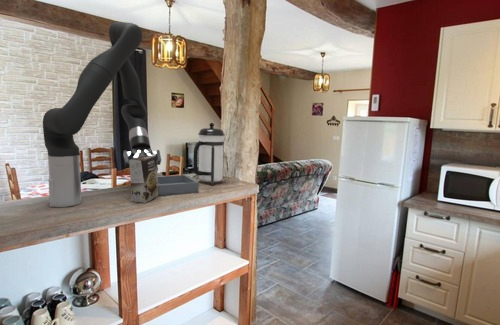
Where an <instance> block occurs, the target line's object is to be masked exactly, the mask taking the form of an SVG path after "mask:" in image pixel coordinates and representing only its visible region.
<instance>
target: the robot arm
mask: <svg viewBox="0 0 500 325" xmlns="http://www.w3.org/2000/svg"><path fill="white" fill-rule="evenodd" d="M108 36H109V40H110V44H111V46H110V48H108V49H107V50H105V51H103V52H101V53H99V54H98V55H96V56H95V57H93V58H92V59H91V60H89V62H88V63H87V64H86V66H85V67H84V68H83V70H82V71H81V73H80V74H79V77H78V79H77V84H76V89H75V91H74V93H73V94H72V96H71V97H70V99H68V101H67V102H66V103H65V105H63V106H62V107H54V108H50V109H48V110H47V111H46V112H45V113H44V115H43V118H42V129H43V130H42V133H43V140H44V146H45V148H46V151H47V159H48V160H47V161H48V193H49V195H48V196H49V198H48V199H49V207H50V208H51V207H52V208H53V207H56V208H64V207H72V206H76V205H77V206H78V205H79V204H81V203H82V182H81V179H82V178H81V162H80V161H81V160H80V159H81V158H80V155H81V154H80V147H79V146H78V145H77V144H76V142H75V140H74V136H75V135H76V134H78V133H79V132H80V130H81V129H82V128H83V127H84V124H85V123H86V120H87V118H88V116H89V115H90V113H91V111H92V110H93V108H94V106H95V105H96V104H97V103H98V101H99V99H100V98H101V96H102V95H103V93H104V92H105V91H106V89H108V87H109V86H110V84H111V82H112V81H113V79H114V78H115V77H116V75H117V74H118V72H119V75H120V80H121V88H122V93H123V98H124V99H125V100H128V101H133V102H136V103H131V104H129V103H127V104H123V106H122V107H121V108H120V109H121V110H120V111H121V112H120V113H121V115H122V118H123V119H124V121H125V123H126V125H127V129H128V139H129V140H128V141H129V144H130V151H127V150H126V149H125V150H123V153H122V154H123V162H124V166H125V167H130V163H129V160H130V159H129V157H130V156H131V157H132V159H133V158H136V157H140V156H157V172H158V171H159V168H158V166H160V165H161V162H162V157H161V156H162V155H161V151H160V149H157V150H155V151H154V150H152V148H151V142H150V138H149V133H148V132H147V127H146V122H145V121H144V120H145V119H147V116H148V109H147V107H146V105H145V103H144V101H143V98H142V92H141V83H140V78H139V76H138V73H137V71H136V69H135V68H134V66H133V64H132V62H131V60H130V57H131V55H133V54H134V52H135V51H137V49H138V48H139V46H140V45H141V43H142V42H143V30H142V29H141V27H140V26H139V25H138V24H136V23H132V22H127V21H125V22H124V21H113V22H112V23H111V24H110V25H109V28H108Z"/></svg>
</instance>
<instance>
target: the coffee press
mask: <svg viewBox="0 0 500 325" xmlns="http://www.w3.org/2000/svg"><path fill="white" fill-rule="evenodd" d="M214 126H215V123H213V122H210V123H209V127H203V128H201V129H200V130H199V132H198V134H197V135H198V142H196V144H195V145H194V148H193V158H192V160H193V172H194V174H195V175H197V178H196V179H195V181H197V182H198V184H199V183H200V182H206V183H210V186H215V183H216V182H217V183H218V182H222V183H226V180H225V178H224V164H225V163H224V162H225V161H224V160H225V159H224V157H225V153H224V152H225V140H224V139H225V132H224V130H223V129H221V128H216V127H215V128H214ZM198 179H199V181H198ZM222 180H224V181H222Z"/></svg>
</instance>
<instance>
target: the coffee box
mask: <svg viewBox="0 0 500 325" xmlns="http://www.w3.org/2000/svg"><path fill="white" fill-rule="evenodd" d="M128 160H129V163H130V166H129V175H130V176H129V180H130V194H131V195H130V196H131V198H130V199H131V202H133V203H134V202H135V203H144V204H146V203H148V202H150V201H152V200H153V199H155V198H156V197H159V196H158V177H157V176H158V171H157V166H158V165H157V156H154V155H152V156H140V157H136V158H133V157H132V158H130V159H128Z"/></svg>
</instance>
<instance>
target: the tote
mask: <svg viewBox="0 0 500 325" xmlns="http://www.w3.org/2000/svg"><path fill="white" fill-rule="evenodd" d="M157 177H158V196H157V197H165V196H177V195H188V194H198V193H199V183H198V182H199V181H198V180H197V181H196V179H193V178H191V177H190V176H188V175H187V174H178V175H176V174H175V175H165V176H164V175H163V176H162V175H160V176H159V175H157Z"/></svg>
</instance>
